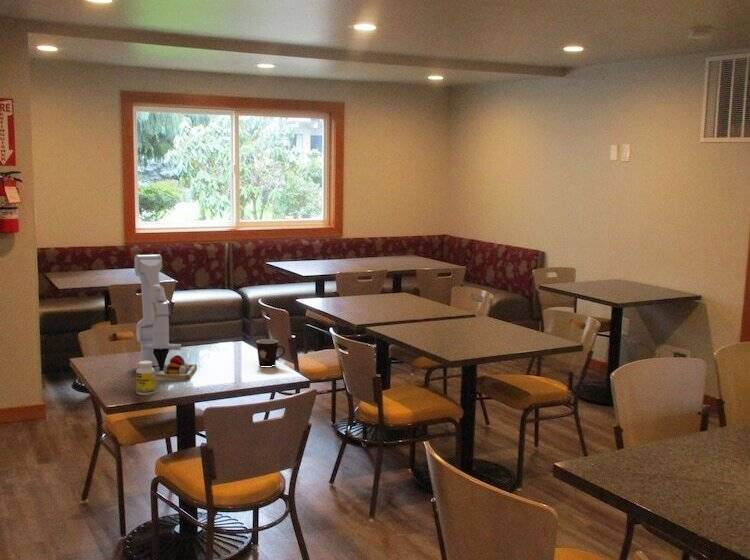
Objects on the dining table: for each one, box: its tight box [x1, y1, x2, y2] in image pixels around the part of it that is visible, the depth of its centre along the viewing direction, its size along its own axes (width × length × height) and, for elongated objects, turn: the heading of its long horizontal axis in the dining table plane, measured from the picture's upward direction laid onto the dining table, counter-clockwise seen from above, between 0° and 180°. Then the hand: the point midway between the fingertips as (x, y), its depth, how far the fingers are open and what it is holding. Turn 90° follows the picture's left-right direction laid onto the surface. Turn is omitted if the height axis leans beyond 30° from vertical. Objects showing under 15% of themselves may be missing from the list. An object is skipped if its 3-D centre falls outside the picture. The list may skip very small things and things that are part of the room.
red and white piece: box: [162, 354, 190, 374], centre depth 297 cm, size 8×10×7 cm
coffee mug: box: [256, 338, 286, 367], centre depth 312 cm, size 12×9×10 cm
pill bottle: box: [135, 360, 156, 396], centre depth 270 cm, size 6×6×11 cm
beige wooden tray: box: [155, 363, 198, 381], centre depth 296 cm, size 17×14×2 cm
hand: (161, 368), depth 296 cm, fingers closed
